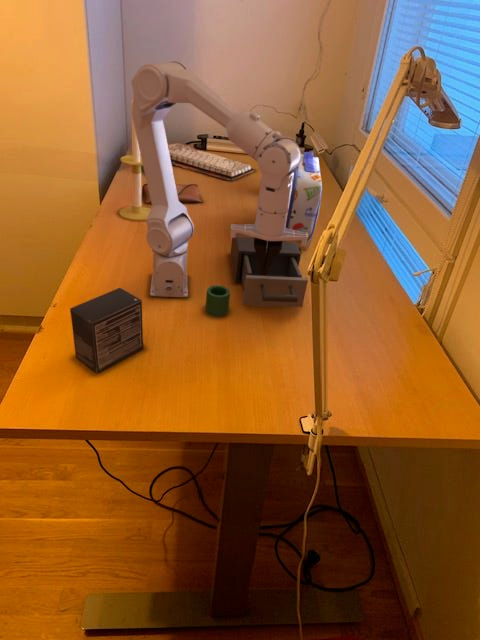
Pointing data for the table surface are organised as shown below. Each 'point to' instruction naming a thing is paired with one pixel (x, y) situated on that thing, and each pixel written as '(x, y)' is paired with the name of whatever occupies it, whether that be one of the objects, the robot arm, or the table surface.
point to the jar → (217, 300)
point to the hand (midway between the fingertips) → (263, 273)
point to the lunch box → (305, 197)
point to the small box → (107, 329)
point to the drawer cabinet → (247, 247)
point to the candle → (134, 181)
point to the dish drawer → (272, 282)
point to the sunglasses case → (178, 193)
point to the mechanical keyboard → (207, 162)
